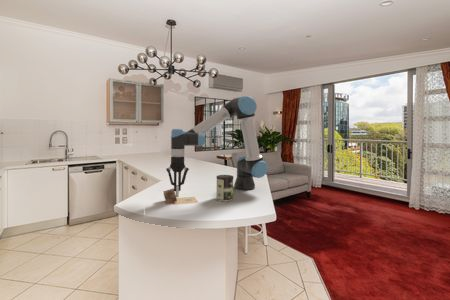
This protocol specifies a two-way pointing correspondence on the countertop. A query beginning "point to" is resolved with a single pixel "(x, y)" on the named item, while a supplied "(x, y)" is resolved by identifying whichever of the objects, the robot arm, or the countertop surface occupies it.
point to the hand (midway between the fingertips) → (177, 196)
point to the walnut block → (170, 196)
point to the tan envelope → (185, 200)
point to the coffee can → (224, 188)
